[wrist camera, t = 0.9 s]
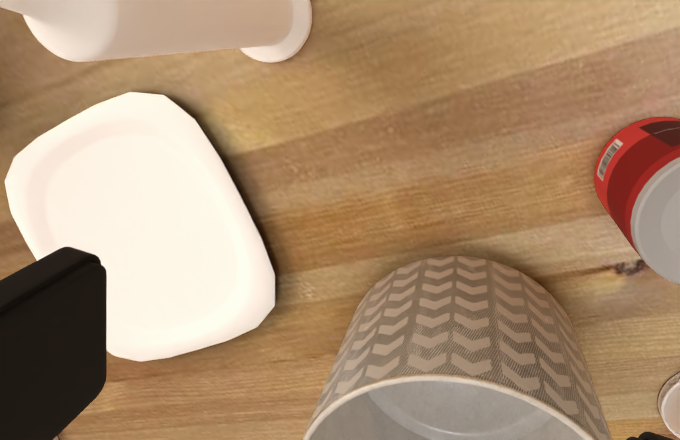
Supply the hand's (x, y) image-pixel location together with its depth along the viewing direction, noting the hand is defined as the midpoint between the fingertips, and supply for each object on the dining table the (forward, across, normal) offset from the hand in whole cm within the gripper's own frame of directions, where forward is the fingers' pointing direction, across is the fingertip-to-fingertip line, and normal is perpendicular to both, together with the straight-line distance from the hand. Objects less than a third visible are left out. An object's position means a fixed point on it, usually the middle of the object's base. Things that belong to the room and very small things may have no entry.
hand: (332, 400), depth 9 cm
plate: (+33, +25, +19) cm, 45 cm away
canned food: (+33, -16, +1) cm, 37 cm away
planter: (+33, -7, +19) cm, 39 cm away
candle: (+33, +15, -4) cm, 37 cm away
